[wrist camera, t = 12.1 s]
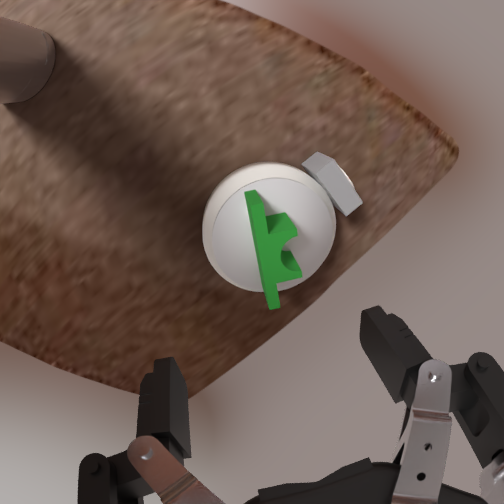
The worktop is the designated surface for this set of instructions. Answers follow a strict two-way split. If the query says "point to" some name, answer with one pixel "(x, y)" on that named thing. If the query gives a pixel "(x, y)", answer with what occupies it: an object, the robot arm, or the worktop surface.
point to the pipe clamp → (271, 247)
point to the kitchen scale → (276, 201)
